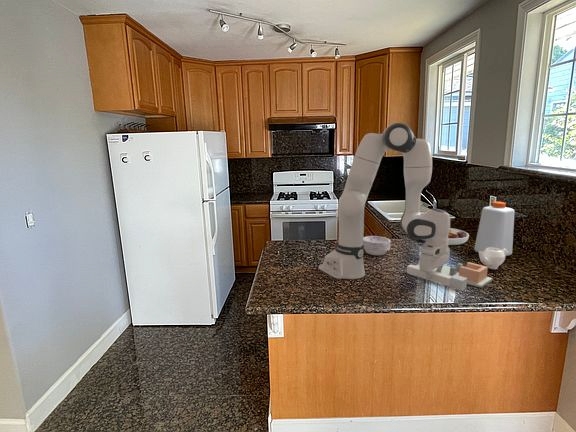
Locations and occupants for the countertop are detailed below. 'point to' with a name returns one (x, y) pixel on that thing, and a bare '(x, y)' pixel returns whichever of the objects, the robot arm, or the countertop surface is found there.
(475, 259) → the countertop surface
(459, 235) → the bowl
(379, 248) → the paper bowls
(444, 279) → the white long bar
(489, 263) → the teapot
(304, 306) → the countertop surface
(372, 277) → the countertop surface
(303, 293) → the countertop surface
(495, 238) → the plastic bottle
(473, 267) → the board
